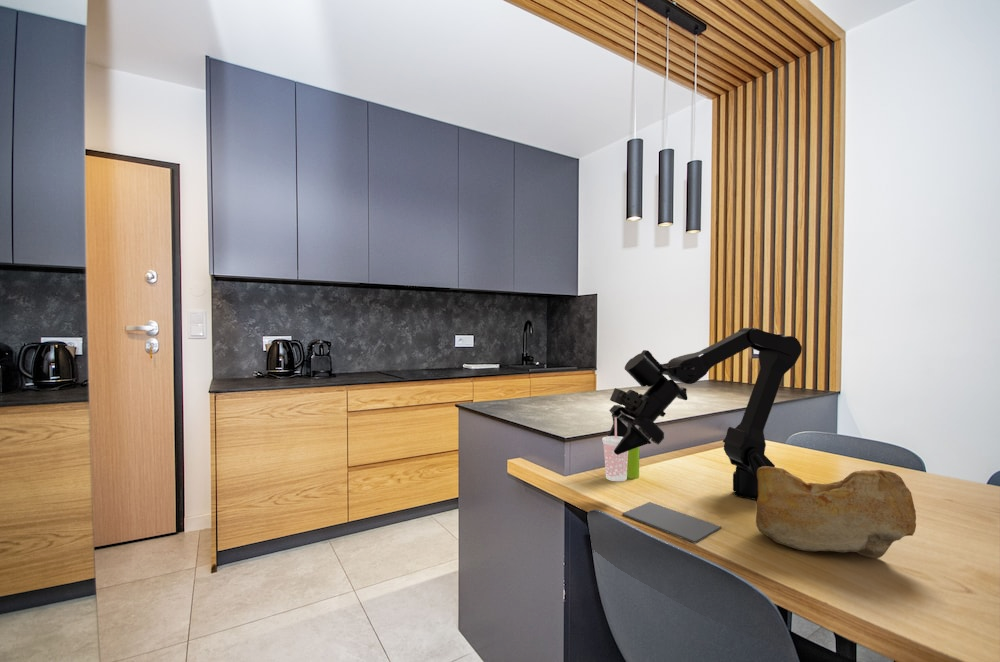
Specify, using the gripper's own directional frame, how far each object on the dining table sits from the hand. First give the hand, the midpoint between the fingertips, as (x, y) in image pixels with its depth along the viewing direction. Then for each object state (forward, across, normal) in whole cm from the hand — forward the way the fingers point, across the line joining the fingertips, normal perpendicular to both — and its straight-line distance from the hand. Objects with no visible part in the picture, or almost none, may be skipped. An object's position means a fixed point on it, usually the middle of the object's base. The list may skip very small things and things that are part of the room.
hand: (610, 449), depth 102 cm
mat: (+3, +12, +14) cm, 19 cm away
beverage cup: (+4, 0, +6) cm, 7 cm away
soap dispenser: (0, -17, +17) cm, 24 cm away
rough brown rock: (-14, +23, +32) cm, 42 cm away
